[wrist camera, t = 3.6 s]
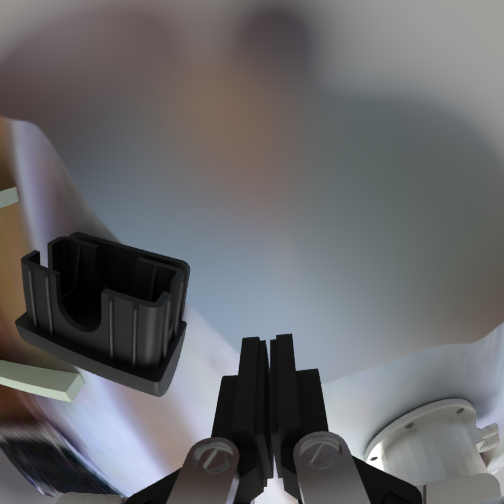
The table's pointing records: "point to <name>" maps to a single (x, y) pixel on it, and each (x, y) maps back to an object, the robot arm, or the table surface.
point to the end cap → (107, 309)
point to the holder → (30, 376)
